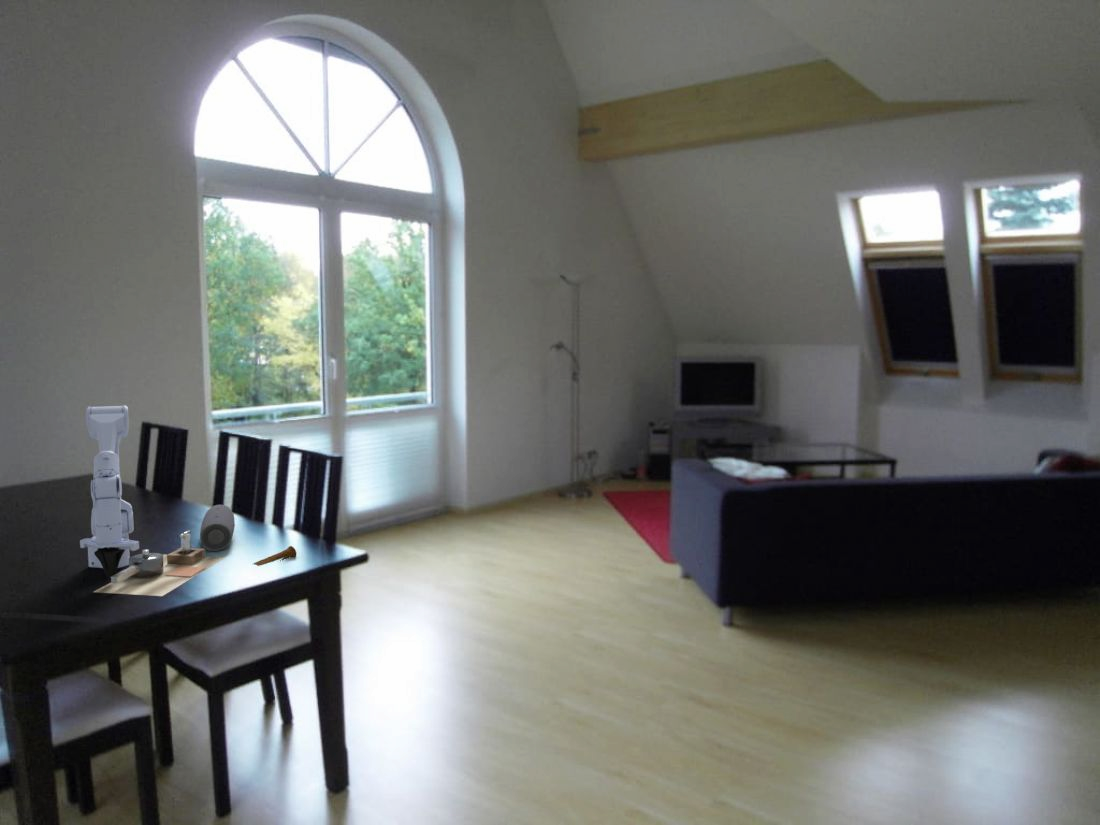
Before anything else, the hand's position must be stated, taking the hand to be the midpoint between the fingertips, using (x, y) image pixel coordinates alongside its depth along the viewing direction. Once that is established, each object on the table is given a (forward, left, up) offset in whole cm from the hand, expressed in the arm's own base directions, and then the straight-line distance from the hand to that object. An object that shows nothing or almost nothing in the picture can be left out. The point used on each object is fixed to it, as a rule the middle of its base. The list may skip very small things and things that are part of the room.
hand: (111, 576), depth 200 cm
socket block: (+8, +20, -2) cm, 22 cm away
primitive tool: (+30, +23, -4) cm, 38 cm away
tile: (+13, +11, -2) cm, 17 cm away
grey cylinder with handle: (+4, +3, -1) cm, 6 cm away
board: (+8, +9, -3) cm, 13 cm away
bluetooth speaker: (+7, +39, -3) cm, 40 cm away
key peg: (+8, +20, -2) cm, 22 cm away
